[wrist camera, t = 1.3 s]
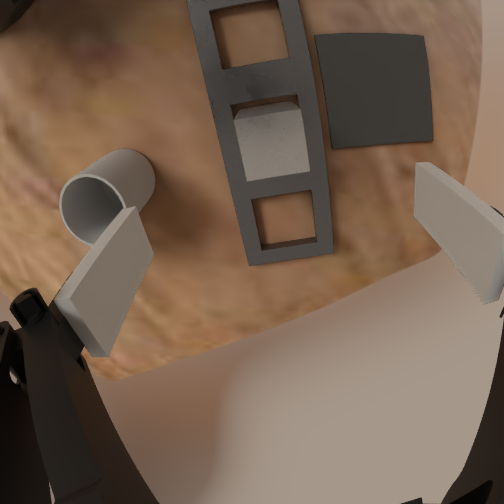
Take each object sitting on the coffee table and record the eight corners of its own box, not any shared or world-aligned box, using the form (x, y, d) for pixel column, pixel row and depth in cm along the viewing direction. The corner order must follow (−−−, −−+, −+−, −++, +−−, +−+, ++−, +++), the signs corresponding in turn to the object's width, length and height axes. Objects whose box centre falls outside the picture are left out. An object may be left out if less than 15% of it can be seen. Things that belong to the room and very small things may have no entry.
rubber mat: (313, 35, 24) (314, 35, 23) (421, 36, 22) (423, 35, 22) (331, 148, 30) (332, 149, 30) (431, 139, 29) (433, 140, 28)
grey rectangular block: (239, 109, 28) (233, 120, 21) (290, 100, 28) (300, 109, 21) (249, 155, 31) (247, 181, 24) (297, 147, 30) (310, 171, 23)
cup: (163, 156, 31) (134, 186, 23) (145, 234, 36) (119, 279, 28) (104, 140, 30) (61, 165, 22) (93, 217, 35) (58, 256, 27)
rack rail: (188, 2, 22) (186, 0, 21) (291, -16, 21) (292, -20, 20) (249, 260, 38) (249, 266, 37) (331, 247, 36) (333, 252, 35)
